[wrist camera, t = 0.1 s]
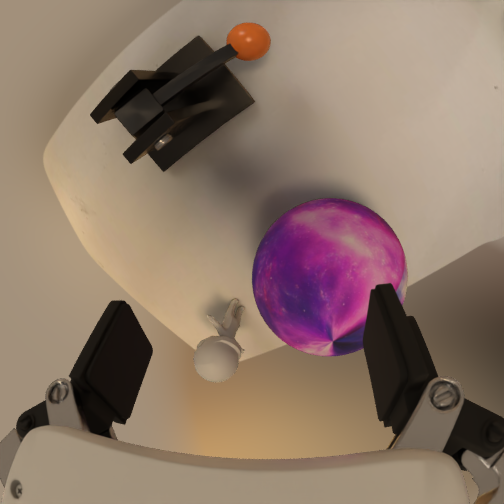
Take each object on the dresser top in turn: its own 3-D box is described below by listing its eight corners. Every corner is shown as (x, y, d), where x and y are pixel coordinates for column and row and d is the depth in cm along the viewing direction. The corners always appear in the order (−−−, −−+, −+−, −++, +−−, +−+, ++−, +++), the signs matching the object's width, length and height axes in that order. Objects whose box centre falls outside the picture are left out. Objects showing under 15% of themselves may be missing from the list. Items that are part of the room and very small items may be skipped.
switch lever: (246, 27, 19) (258, 9, 16) (270, 54, 20) (285, 40, 17) (115, 114, 18) (107, 106, 15) (141, 145, 20) (136, 142, 17)
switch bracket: (201, 37, 22) (156, 11, 12) (255, 101, 26) (243, 110, 16) (118, 111, 26) (49, 133, 16) (167, 168, 30) (117, 215, 20)
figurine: (265, 319, 40) (247, 393, 31) (235, 326, 43) (213, 395, 34) (234, 280, 37) (205, 358, 28) (203, 290, 39) (171, 361, 30)
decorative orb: (230, 227, 33) (203, 323, 21) (339, 150, 27) (392, 210, 15) (303, 304, 39) (310, 401, 26) (398, 249, 33) (446, 337, 21)
